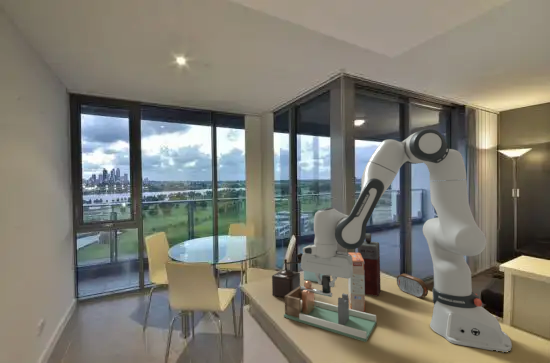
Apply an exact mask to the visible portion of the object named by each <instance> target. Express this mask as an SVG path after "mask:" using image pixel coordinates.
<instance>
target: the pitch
mask: <svg viewBox="0 0 550 363" xmlns="http://www.w3.org/2000/svg"><path fill="white" fill-rule="evenodd" d="M283 317H284V318H285V317H286V319H288V318H289V320H291V319H292V320H291V321H296V322H298V323H302V324H305V325H309V326H312V327H315V328H318V329H322V330H324V331H329V332H331V333H335V334H339V335H341V336H345V337H348V338H352V339H355V340H358V341H361V342H364V343H367V342H368V339H369V338H370V336H371V333H372V332H373V330H374V328H375V326H376V325H377V315H376V314H374V313H373V314H372V313H370V312H369V313H368V312H366V311H365V312H362V311H356V310H352V309H351V308H350V302H349V293H348V294H347V293H344V292H343V293H342V294H341V297H340V296H339V297H338V298H337V305H335V304H331V303H327V302H323V301H320V300H319V301H318V300H314V309H313V310H312V311H311V312H310V313H309V314H308V315H307V314H304V313H302V311H301V313H300V314H299V318H297V317H294V316H291V315H287V314H285V313H284V314H283Z"/></svg>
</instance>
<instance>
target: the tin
mask: <svg viewBox="0 0 550 363" xmlns="http://www.w3.org/2000/svg"><path fill="white" fill-rule="evenodd" d="M396 285H397V287H398V289H400V290H401V292H403V293H406V294H409V295H410V296H413V297H416V298H417V299H420V298H421V299H422V298H425V297H427V296H428V295H429V288H428V285H427V284H426V282H425V281H423V279H421V278H419V277H415V276H414V275H411V274H408V273H402V274H399V275H398V276H397V277H396Z"/></svg>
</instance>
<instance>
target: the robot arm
mask: <svg viewBox="0 0 550 363" xmlns="http://www.w3.org/2000/svg"><path fill="white" fill-rule="evenodd" d="M405 163H407V164H410V165H411V164H412V165H413V164H415V165H416V164H424V165H425V166H426V168H427V170H428V172H429V192H430V203H431V205H432V207H433V208H434V209H435V212H436V215H437V217H433V218H429V219H427V220H426V221H425V222H424V223H423V227H422V234H423V236H424V237H425V240H426V243H427V245H428V249H429V253H430V256H431V262H432V268H433V269H432V270H433V287H432V302H433V311H432V316H431V320H430V324H429V326H430V328H431V330H433V331H434V332H435V333H436V334H438V335H440V336H441V337H443V338H445V339H446V340H447V341H448V342H449V343H451V344H453V345H454V344H455V345H459V346H465V347H471V348H476V349H483V350H488V351H493V350H496V351H495V352H498V351H503V352H502V353H504V352H507V351H510V350H511V348H512V349H513V345H512V344H513V343H512V340H511V338H510V337H509V335H508V334H507V333H505V331H503V330H502V326H501V324H500V322H499V320H498V319H497V317H496V316H495V315H493V314H492V313H490V312H489V311H488V310H487V309H485V308H484V307H482V306H483V303H482V300H481V299H480V297H479V296H478V294H477V293H474V292H472V271H471V269H470V265H468V263H467V261H466V258H465V257H475V256H478V255H480V254H481V253H482V252H483V251H484V250H485V248H486V246H487V238H486V235H485V233H484V231H482V229H480V227H479V225H478V224H477V222H476V221H475V218H474V215H473V213H472V212H473V211H472V210H471V206H470V202H469V195H468V194H469V193H468V181H467V171H466V166H465V162H464V158H463V155H462V154H461V152H460V151H459V150H456V149H453V148H450V146H449V144H448V143H447V142H446V139H445V137H444V136H443V135H442V133H440V132H439V131H438V130H435V129H433V128H432V129H431V128H424V129H421V130H418V131H416V132H414V133H412V134H410V135H409V136H408V137H407V138H405V139H404V140H402V141H398V140H396V139H392V138H391V139H389V138H388V139H384V140H382V141H381V143H380V144H379V145H378V146H377V148H376V149H375V150H374V151H373V153H372V155H371V156H370V157H369V159H368V161H367V163H366V164H365V167H364V170H363V172H362V175H361V179H360V180H361V188H360V193H359V195H358V198H357V200H356V202H355V204H354V206H353V208H352V210H351V211H350V213H349V214H345V213H343V212H341V211H338V210H337V209H336V208H335V207H332V206H331V207H324V208H320V209H318V210H317V211H316V212H315V214H314V217H313V233H314V240H313V244H308V245H306V246H304V247H302V254H303V255H302V258H301V263H300V268H301V270H302V271H303V272H304V271H309V272H314V273H315V276H316V278H317V279H318V282H317V284H318V285H320V286H322V279H321V277H320V274H325V275H330V277H331V279H332V280H331V281H330V282H329V287H331V288H335V286H336V285H335V282H336V280H337V278H341V279H349V278H350V277H351V276H352V275H353V269H352V256H351V255H350V254H349V252H347V251H345V252H343V251H338V245H339V246H340V247H341V248H344V249H346V250H356V249H358V247H360V246H361V245H362V244H363V243H364V241H366V240H365V236H366V232H367V231H366V230H367V225H368V222H369V220H370V219H371V217H372V214H373V212H374V210H375V209H376V206H377V204H378V203H379V201H380V199H381V198H382V197H383V195H384V193H385V192H386V191H387V190H388V188H389V187H390V186H391V184H392V183H393V182H394V180H395V178H396V176H397V174H398V173H399V170H400V169H401V167H402V166H403V165H404V164H405ZM348 255H350V256H348ZM464 256H465V257H464ZM511 351H512V350H511ZM511 351H510V352H511Z"/></svg>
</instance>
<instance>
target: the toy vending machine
mask: <svg viewBox="0 0 550 363" xmlns="http://www.w3.org/2000/svg"><path fill="white" fill-rule="evenodd" d="M357 253H361V256H362V258H363V260H364V280H365V295H367V296H374V297H379V296H380V292H381V287H382V285H381V261H380V259H381V258H380V256H381V254H380V253H381V251H380V242H378V241H372V234H371V233H368V232H367V233H366V236H365V240H364V243H363V244H362V245H361V246H360V247H358V248H357Z"/></svg>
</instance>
